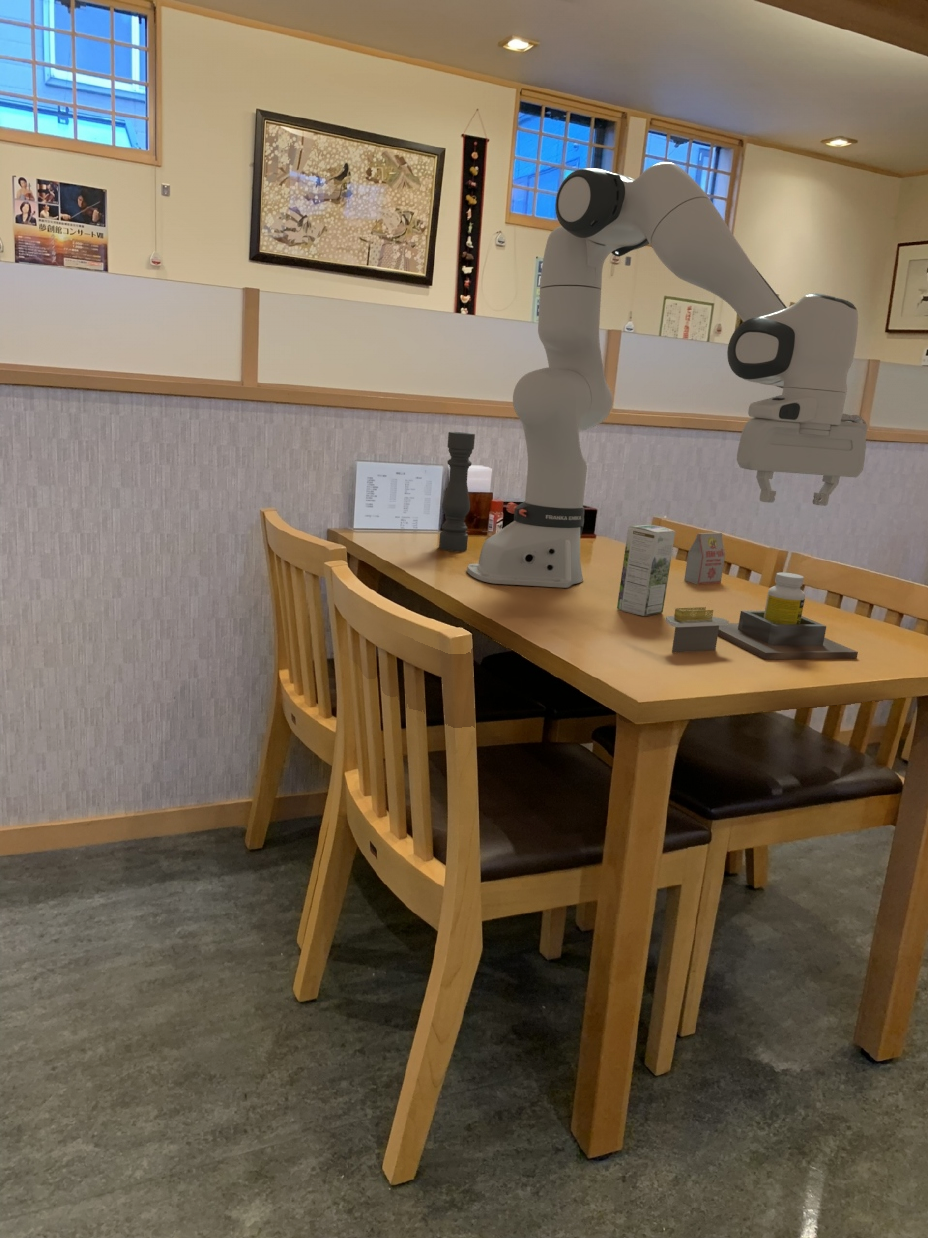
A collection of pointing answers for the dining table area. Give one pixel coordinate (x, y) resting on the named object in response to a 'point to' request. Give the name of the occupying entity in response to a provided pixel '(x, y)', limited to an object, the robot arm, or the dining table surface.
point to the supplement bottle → (785, 599)
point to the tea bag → (705, 559)
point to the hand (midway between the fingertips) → (793, 503)
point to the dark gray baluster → (457, 493)
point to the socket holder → (783, 638)
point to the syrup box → (645, 569)
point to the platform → (695, 629)
